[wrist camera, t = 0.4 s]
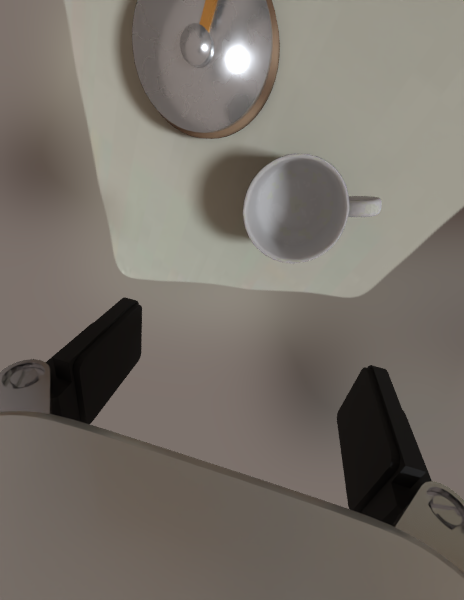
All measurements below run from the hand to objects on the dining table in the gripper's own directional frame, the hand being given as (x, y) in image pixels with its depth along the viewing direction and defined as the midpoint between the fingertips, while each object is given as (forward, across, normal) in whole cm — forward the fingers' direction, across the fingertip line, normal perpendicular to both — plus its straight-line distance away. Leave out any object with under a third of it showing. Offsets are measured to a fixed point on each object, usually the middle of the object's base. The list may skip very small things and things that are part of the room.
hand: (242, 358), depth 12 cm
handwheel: (+27, +12, -14) cm, 32 cm away
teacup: (+29, -3, -2) cm, 30 cm away
